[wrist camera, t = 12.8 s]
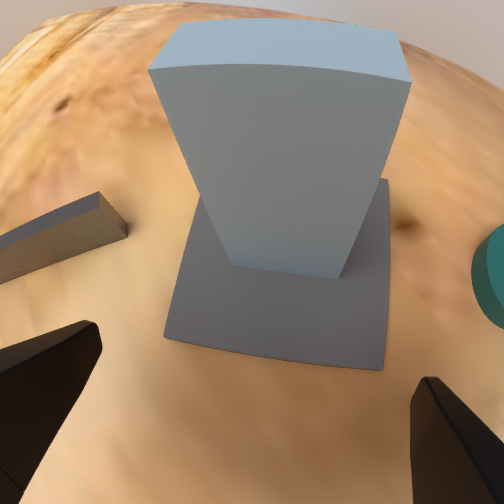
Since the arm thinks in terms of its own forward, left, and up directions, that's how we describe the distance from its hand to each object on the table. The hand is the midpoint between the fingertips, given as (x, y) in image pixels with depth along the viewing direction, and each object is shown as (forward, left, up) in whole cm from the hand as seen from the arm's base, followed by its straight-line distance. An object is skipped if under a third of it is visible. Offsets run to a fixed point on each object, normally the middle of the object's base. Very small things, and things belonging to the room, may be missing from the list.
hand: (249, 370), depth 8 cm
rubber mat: (+4, -6, -9) cm, 12 cm away
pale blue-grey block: (+4, -6, -9) cm, 11 cm away
